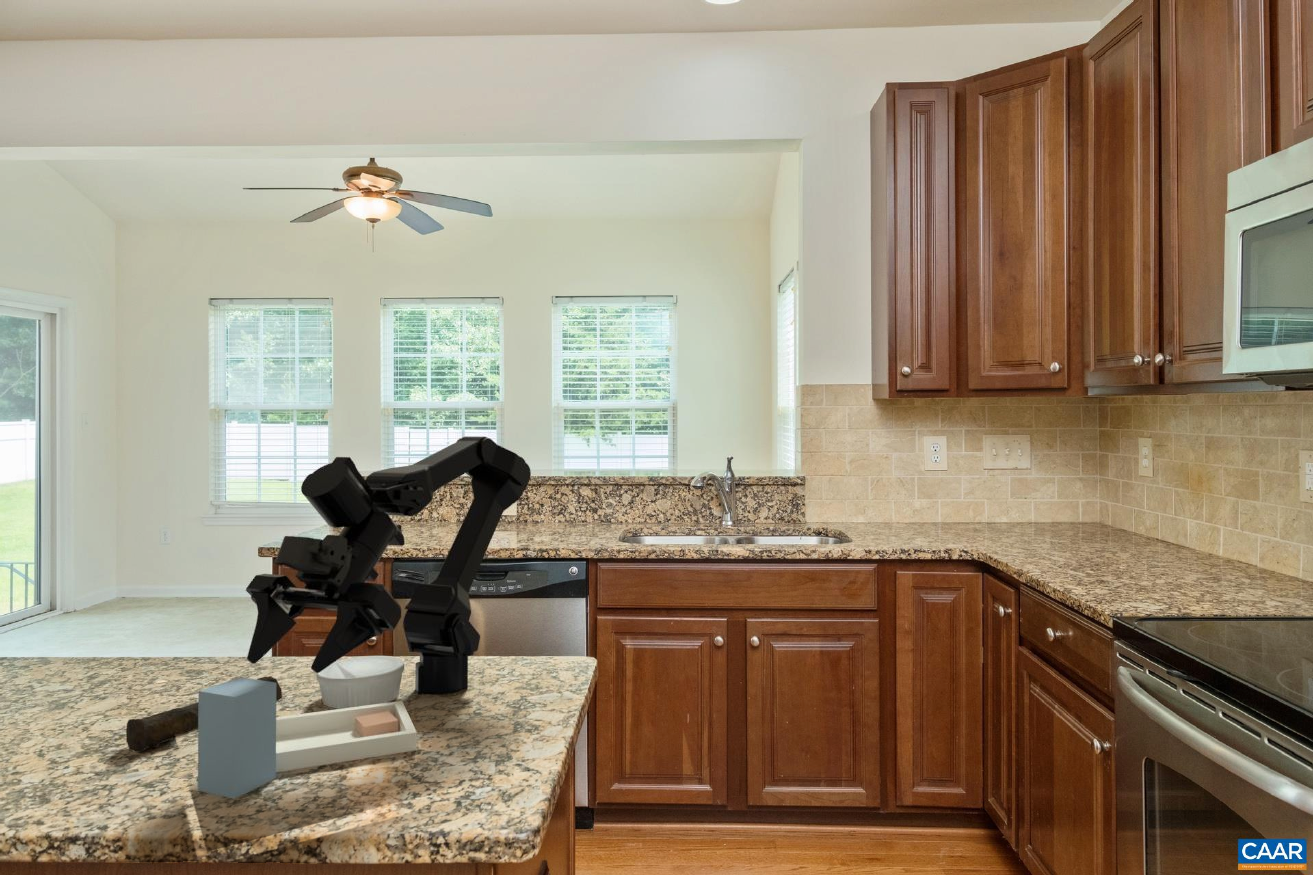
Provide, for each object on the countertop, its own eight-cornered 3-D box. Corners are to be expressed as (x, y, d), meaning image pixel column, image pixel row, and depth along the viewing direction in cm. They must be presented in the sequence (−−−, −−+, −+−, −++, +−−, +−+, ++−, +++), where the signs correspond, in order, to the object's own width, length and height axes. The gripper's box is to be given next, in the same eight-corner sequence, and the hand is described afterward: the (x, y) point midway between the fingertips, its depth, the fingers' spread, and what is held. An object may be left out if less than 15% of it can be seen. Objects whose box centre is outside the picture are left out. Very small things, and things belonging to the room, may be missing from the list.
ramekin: (297, 712, 105) (297, 673, 105) (357, 688, 116) (357, 652, 116) (365, 722, 101) (365, 681, 101) (420, 696, 112) (420, 659, 112)
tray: (401, 724, 101) (401, 700, 101) (416, 758, 90) (416, 732, 90) (261, 744, 94) (262, 719, 94) (259, 784, 83) (259, 755, 83)
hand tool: (140, 757, 90) (140, 716, 90) (123, 749, 93) (123, 710, 93) (293, 710, 106) (293, 676, 106) (275, 705, 109) (276, 671, 109)
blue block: (240, 780, 84) (241, 677, 84) (275, 788, 82) (276, 682, 82) (197, 800, 79) (198, 690, 79) (234, 808, 78) (235, 696, 78)
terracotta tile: (388, 722, 98) (388, 710, 98) (398, 732, 95) (398, 720, 95) (354, 729, 96) (355, 717, 96) (364, 739, 93) (364, 726, 93)
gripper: (260, 506, 95) (173, 616, 84) (385, 512, 88) (307, 633, 77) (310, 563, 102) (235, 671, 91) (429, 572, 95) (363, 690, 85)
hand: (281, 666), depth 86 cm, fingers open, 9 cm apart
